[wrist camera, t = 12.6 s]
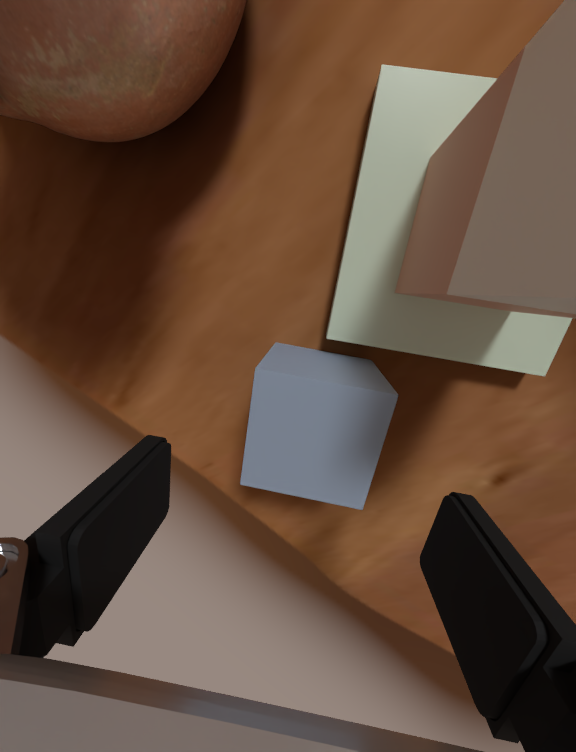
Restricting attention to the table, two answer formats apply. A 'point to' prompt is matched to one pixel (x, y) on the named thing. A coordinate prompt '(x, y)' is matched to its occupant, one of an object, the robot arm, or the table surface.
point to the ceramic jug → (110, 62)
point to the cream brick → (530, 185)
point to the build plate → (392, 230)
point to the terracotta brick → (456, 201)
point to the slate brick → (316, 425)
